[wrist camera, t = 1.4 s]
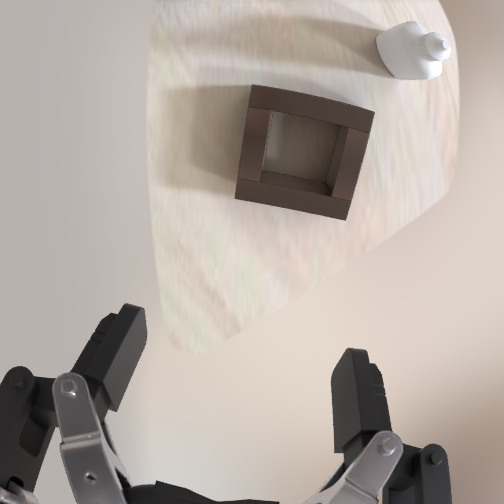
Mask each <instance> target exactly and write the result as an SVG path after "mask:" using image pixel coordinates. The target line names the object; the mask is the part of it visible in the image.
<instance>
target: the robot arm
mask: <svg viewBox="0 0 504 504" xmlns="http://www.w3.org/2000/svg"><path fill="white" fill-rule="evenodd" d="M146 340H147V327H146V319H145V310H144V308H142V307H138V306H135V305H131V304H127V303H126V304H124V305H123V307H122V308H121V310H120V312H119V313H118V314H114V313H110V314H109V315H108V316H106V317H105V318H103V319H102V320H101V321H100V323H99V325H98V326H97V328H96V330H95V332H94V333H93V334H92V336H91V338H90V340H89V341H88V343H87V344H86V346H85V348H84V349H83V351H82V353H81V355H80V356H79V358H78V360H77V362H76V363H75V365H74V367H73V368H72V370H71V371H70V372H69V373H64V374H62V375H60V376H59V377H57V378H44V377H36V376H33V374H32V373H31V371H30V370H29V369H28V368H26V367H23V366H17V367H14V368H12V369H10V370H9V371H8V372H7V374H6V375H5V377H4V379H3V381H2V382H1V384H0V504H39V503H38V500H37V499H36V497H35V496H34V495H33V491H34V488H35V485H36V481H37V478H38V475H39V472H40V469H41V466H42V463H43V460H44V457H45V454H46V451H47V448H48V446H49V443H50V440H51V438H52V435H53V432H54V430H55V427H59V429H60V433H61V437H62V443H60V453H61V457H62V460H63V464H64V467H65V471H66V474H67V477H68V480H69V483H70V486H71V489H72V492H73V494H74V497H75V500H76V502H77V504H279V502H274V501H262V500H252V499H247V500H236V501H223V502H222V501H221V502H218V501H214V500H211V499H209V498H206V497H204V496H202V495H199V494H197V493H195V492H193V491H191V490H189V489H187V488H182V487H179V486H175V485H171V484H167V483H164V482H160V481H156V483H155V485H153V484H150V485H149V484H147V485H138V486H133V485H132V483H131V481H130V478H129V476H128V474H127V472H126V469H125V467H124V466H123V464H122V462H121V460H120V458H119V455H118V453H117V450H116V448H115V445H114V442H113V440H112V437H111V434H110V431H109V428H108V425H107V423H106V419H105V416H106V413H107V411H108V409H110V410H112V411H115V412H117V410H118V408H119V405H120V403H121V400H122V398H123V396H124V393H125V391H126V388H127V386H128V384H129V382H130V379H131V377H132V375H133V372H134V370H135V368H136V366H137V363H138V361H139V359H140V356H141V354H142V352H143V350H144V348H145V345H146ZM383 386H384V383H383V378H382V374H381V372H380V371H379V369H378V368H377V366H376V365H375V364H372V363H369V358H368V353H367V351H366V350H363V349H354V348H347V349H346V350H345V352H344V354H343V355H342V357H341V359H340V360H339V362H338V364H337V365H336V367H335V368H334V371H333V373H332V377H331V392H332V406H333V426H334V453H344V460H342V462H341V463H340V464H339V465H338V467H337V468H336V469H335V470H334V472H333V473H332V474H331V475H330V476H329V478H328V479H327V480H326V481H325V483H324V484H323V485H322V486H321V487H320V488H319V489H318V490H317V492H316V493H315V494H314V495H312V496H311V497H310V498H309V499H308V500H306V501H305V502H304V503H303V504H378V502H379V500H378V499H377V496H378V494H379V492H380V491H381V489H382V488H383V498H382V504H452V498H451V497H452V496H451V484H450V475H449V466H448V459H447V454H446V452H445V450H444V449H443V448H442V447H441V446H439V445H437V444H429V445H427V446H426V447H424V448H423V449H421V448H417V447H413V446H410V445H406V444H404V443H402V441H401V439H400V438H399V436H398V435H396V434H395V433H393V431H392V428H391V422H390V416H389V410H388V404H387V399H386V397H385V394H386V393H385V389H384V387H383Z"/></svg>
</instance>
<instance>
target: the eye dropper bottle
mask: <svg viewBox="0 0 504 504" xmlns="http://www.w3.org/2000/svg"><path fill="white" fill-rule="evenodd" d="M376 44H377V49H378V52H379V55H380V57H381V59H382V61H383V63H384V64H385V66H386V67H387V69H388V70H389V71H390V72H391V73H392V75H393V76H394V77H396V78H397V79H399V80H428V79H432V78H435V77H437V76H439V75H440V74H441V72H442V61H444V60H446V59H447V58H448V57H449V56H450V44H449V42H448V41H447V40H446V39H445V38H444V37H443V36H442V35H440V34H439V33H435V32H434V33H428V32H427V31H426V30H425V29H424V28H423V27H422V26H421V25H420V24H419V23H417V22H415V21H409V22H405V23H402V24H399V25H397V26H395V27H393V28H391V29H389V30H387V31H385V32H383V33H381V34H379V35H378V36H377V37H376Z"/></svg>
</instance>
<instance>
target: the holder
mask: <svg viewBox="0 0 504 504" xmlns="http://www.w3.org/2000/svg"><path fill="white" fill-rule="evenodd" d="M273 111H278V112H283V113H288V114H293V115H298V116H303V117H308V118H312V119H317V120H321V121H325V122H330V123H334V124H338V125H340V126H339V130H338V135H337V139H336V143H335V147H334V152H333V156H332V160H331V164H330V168H329V172H328V176H327V180H326V183H323V182H318V181H314V180H309V179H304V178H299V177H295V176H290V175H285V174H279V173H274V172H269V171H263V167H264V161H265V155H266V149H267V144H268V138H269V132H270V127H271V121H272V115H273ZM374 114H375V112H373V111H370V110H367V109H364V108H360V107H357V106H353V105H350V104H346V103H342V102H338V101H334V100H330V99H326V98H322V97H318V96H313V95H309V94H304V93H299V92H294V91H289V90H284V89H278V88H273V87H266V86H260V85H252V87H251V93H250V99H249V107H248V112H247V118H246V124H245V131H244V137H243V144H242V151H241V157H240V164H239V171H238V179H237V185H236V192H235V199H239V200H245V201H250V202H256V203H261V204H266V205H272V206H277V207H282V208H287V209H292V210H297V211H302V212H307V213H312V214H317V215H322V216H326V217H331V218H336V219H340V220H345V221H346V218H347V215H348V211H349V208H350V205H351V201H352V198H353V194H354V191H355V187H356V184H357V180H358V177H359V173H360V170H361V166H362V162H363V158H364V155H365V151H366V147H367V143H368V139H369V135H370V131H371V127H372V122H373V118H374Z"/></svg>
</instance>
